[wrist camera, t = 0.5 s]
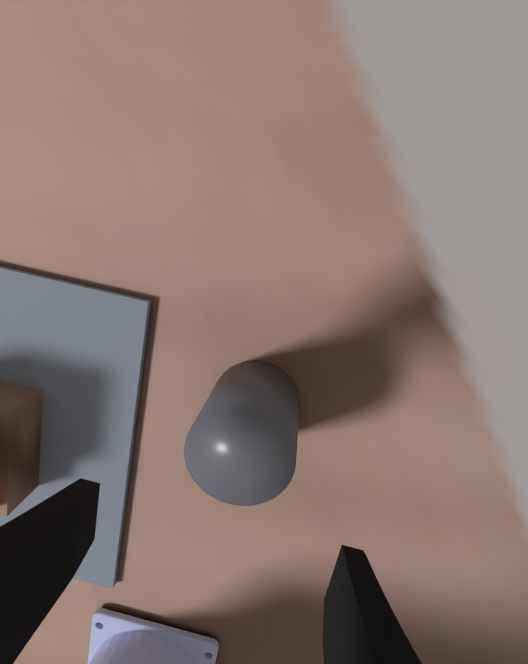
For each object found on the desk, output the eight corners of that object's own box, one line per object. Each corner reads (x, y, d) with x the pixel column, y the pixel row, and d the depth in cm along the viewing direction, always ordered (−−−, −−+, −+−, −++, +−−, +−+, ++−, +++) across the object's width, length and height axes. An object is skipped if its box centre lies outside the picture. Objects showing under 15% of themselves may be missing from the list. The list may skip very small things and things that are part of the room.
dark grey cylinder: (289, 449, 21) (282, 517, 16) (207, 429, 21) (176, 490, 17) (308, 372, 20) (307, 421, 15) (221, 351, 20) (193, 393, 15)
